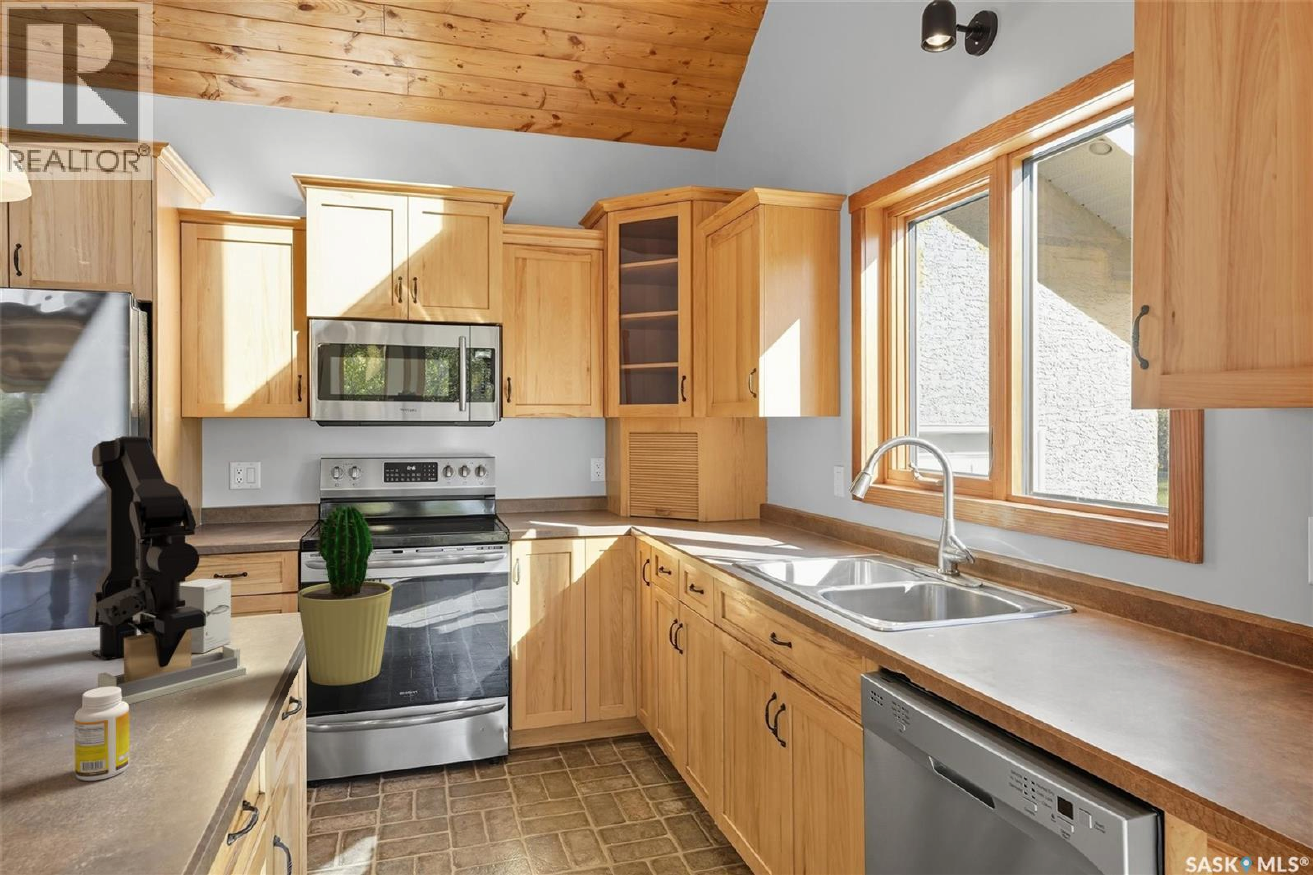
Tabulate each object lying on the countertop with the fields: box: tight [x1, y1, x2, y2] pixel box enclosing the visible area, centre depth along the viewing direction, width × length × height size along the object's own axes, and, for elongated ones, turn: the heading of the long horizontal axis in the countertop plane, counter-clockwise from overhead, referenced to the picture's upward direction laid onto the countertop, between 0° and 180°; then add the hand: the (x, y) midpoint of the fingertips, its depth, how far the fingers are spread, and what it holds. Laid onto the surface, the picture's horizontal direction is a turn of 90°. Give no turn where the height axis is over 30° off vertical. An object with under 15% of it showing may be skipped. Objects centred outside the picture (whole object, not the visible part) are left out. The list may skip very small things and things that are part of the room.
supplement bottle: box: [74, 686, 131, 782], centre depth 97 cm, size 6×6×10 cm
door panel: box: [123, 629, 192, 682], centre depth 127 cm, size 2×9×7 cm, turn 146°
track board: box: [97, 644, 247, 705], centre depth 129 cm, size 8×20×4 cm, turn 146°
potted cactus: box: [297, 503, 394, 686], centre depth 135 cm, size 15×15×30 cm
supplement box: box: [177, 578, 232, 654], centre depth 150 cm, size 7×7×13 cm
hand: (159, 664), depth 127 cm, fingers closed on door panel, 2 cm apart
